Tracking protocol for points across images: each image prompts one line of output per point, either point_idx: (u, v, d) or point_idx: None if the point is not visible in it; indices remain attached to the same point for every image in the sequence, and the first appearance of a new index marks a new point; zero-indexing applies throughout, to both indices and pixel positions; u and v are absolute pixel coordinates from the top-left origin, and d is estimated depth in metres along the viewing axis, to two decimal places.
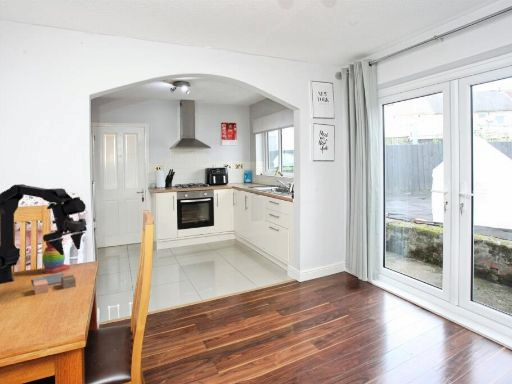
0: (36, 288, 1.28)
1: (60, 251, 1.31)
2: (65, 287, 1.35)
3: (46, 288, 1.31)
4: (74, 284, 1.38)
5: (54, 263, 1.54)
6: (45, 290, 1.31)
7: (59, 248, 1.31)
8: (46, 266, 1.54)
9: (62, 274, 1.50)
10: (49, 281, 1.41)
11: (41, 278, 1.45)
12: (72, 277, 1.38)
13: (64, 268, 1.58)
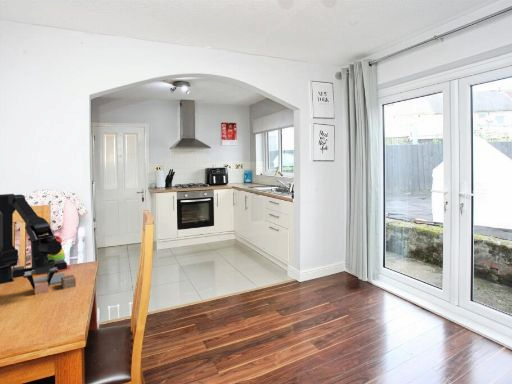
0: (36, 288, 1.28)
1: None
2: (65, 287, 1.35)
3: (46, 288, 1.31)
4: (74, 284, 1.38)
5: None
6: (45, 289, 1.31)
7: None
8: None
9: (62, 274, 1.50)
10: None
11: (41, 278, 1.45)
12: (72, 277, 1.38)
13: None
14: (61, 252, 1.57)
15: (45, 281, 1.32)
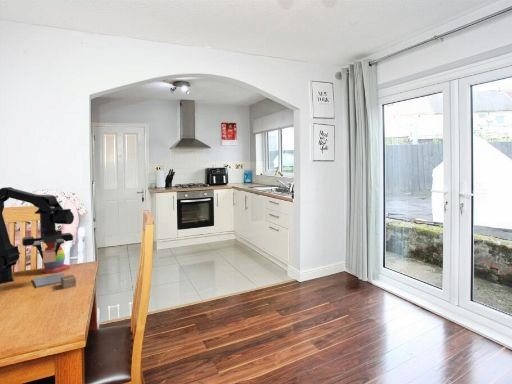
0: (44, 256, 1.39)
1: None
2: (65, 287, 1.35)
3: (53, 257, 1.41)
4: (74, 284, 1.38)
5: (54, 263, 1.54)
6: (52, 258, 1.41)
7: (39, 252, 1.39)
8: (46, 266, 1.54)
9: (62, 274, 1.50)
10: (49, 281, 1.41)
11: (41, 278, 1.45)
12: (72, 277, 1.38)
13: (64, 268, 1.58)
14: (61, 252, 1.57)
15: (53, 251, 1.43)
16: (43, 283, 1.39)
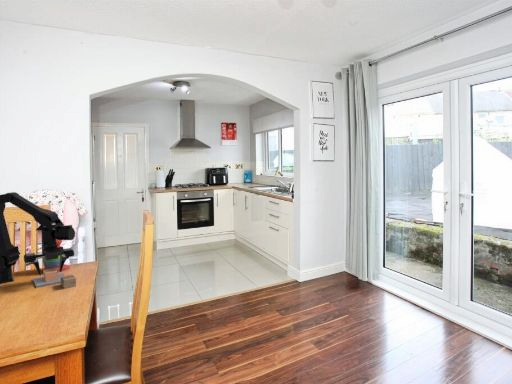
0: (46, 275, 1.40)
1: None
2: (65, 287, 1.35)
3: (55, 276, 1.43)
4: (74, 284, 1.38)
5: (54, 263, 1.54)
6: (54, 277, 1.42)
7: None
8: (46, 266, 1.54)
9: (62, 274, 1.50)
10: (49, 281, 1.41)
11: (41, 278, 1.45)
12: (72, 277, 1.38)
13: (64, 268, 1.58)
14: None
15: (54, 270, 1.44)
16: (43, 283, 1.39)
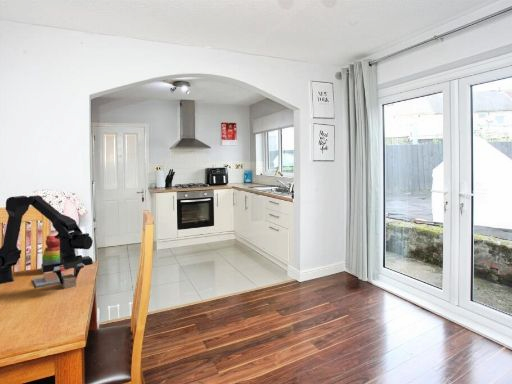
0: (46, 275, 1.40)
1: None
2: (66, 287, 1.35)
3: (55, 276, 1.43)
4: (74, 283, 1.38)
5: (54, 263, 1.54)
6: (54, 277, 1.42)
7: None
8: None
9: (62, 274, 1.50)
10: (49, 281, 1.41)
11: (41, 278, 1.45)
12: (72, 277, 1.38)
13: None
14: None
15: None
16: (43, 283, 1.39)
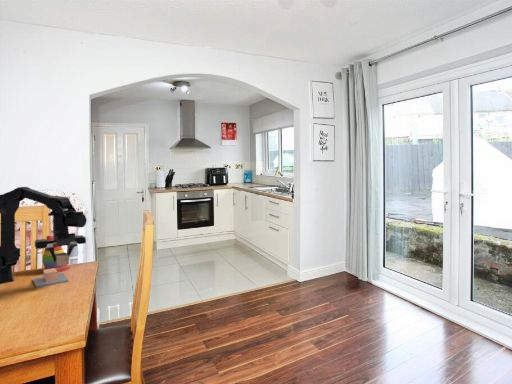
0: (46, 275, 1.40)
1: None
2: (58, 264, 1.36)
3: (55, 276, 1.43)
4: (67, 261, 1.39)
5: None
6: (54, 277, 1.42)
7: (51, 255, 1.37)
8: (46, 266, 1.54)
9: (62, 274, 1.50)
10: (49, 281, 1.41)
11: (41, 278, 1.45)
12: (65, 254, 1.39)
13: (64, 268, 1.58)
14: (61, 252, 1.57)
15: (54, 270, 1.44)
16: (43, 283, 1.39)
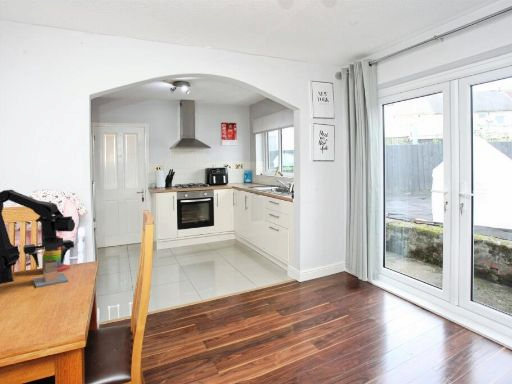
0: (46, 275, 1.40)
1: (36, 263, 1.40)
2: (47, 271, 1.40)
3: (55, 276, 1.43)
4: (56, 268, 1.43)
5: None
6: (54, 277, 1.42)
7: (35, 260, 1.39)
8: None
9: (62, 274, 1.50)
10: (49, 281, 1.41)
11: (41, 278, 1.45)
12: (54, 262, 1.43)
13: (64, 268, 1.58)
14: None
15: None
16: (43, 283, 1.39)
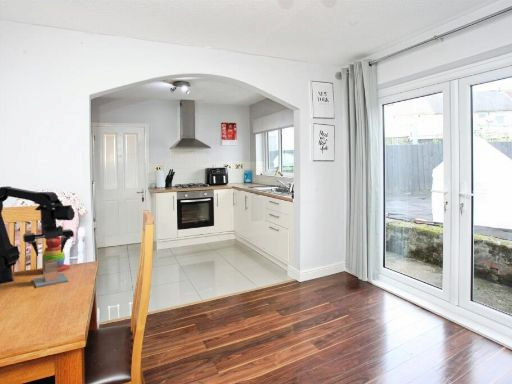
0: (46, 275, 1.40)
1: None
2: (47, 271, 1.40)
3: (55, 276, 1.43)
4: (56, 268, 1.43)
5: None
6: (54, 277, 1.42)
7: (34, 249, 1.39)
8: None
9: (62, 274, 1.50)
10: (49, 281, 1.41)
11: (41, 278, 1.45)
12: (54, 262, 1.43)
13: (64, 268, 1.58)
14: None
15: None
16: (43, 283, 1.39)
